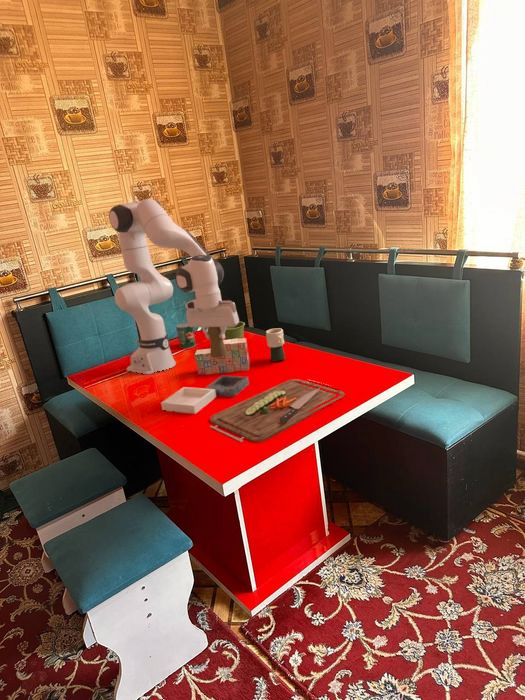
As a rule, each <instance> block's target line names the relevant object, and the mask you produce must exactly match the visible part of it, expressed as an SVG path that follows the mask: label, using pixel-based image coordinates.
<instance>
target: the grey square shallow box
mask: <svg viewBox="0 0 525 700" xmlns="http://www.w3.org/2000/svg"><path fill="white" fill-rule="evenodd" d="M249 385H250V382H249V376H240V375H237V376H236V375H220V376H219V377H218V378H216V379H215V380H213V381H212V382H211V383H210V384H208V385H207V386H206V387H205V389H215V392H216V396H218V397H219V396H221V397H229V398H230V397H231V398H234V397H236V396H237V395H239V393H240V392H241V391H243V390H244V389H245V388H247V386H249Z"/></svg>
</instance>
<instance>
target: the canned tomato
mask: <svg viewBox="0 0 525 700" xmlns="http://www.w3.org/2000/svg"><path fill="white" fill-rule="evenodd" d="M175 328H176V332H177V337H178V338H177V339H178V342H179V343H178V344H179V348H180V349H181V348H184V349H183V350H186V349H185V348H188V349H191V347H192V348H194V347H196V346H195V345H197V344H196V340H195V339H196V338H195V334H194V333H195V332H194V327H190V326H189V325H188V322H183V323H179V324H177V325H176V326H175Z"/></svg>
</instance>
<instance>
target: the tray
mask: <svg viewBox="0 0 525 700" xmlns="http://www.w3.org/2000/svg"><path fill="white" fill-rule="evenodd" d="M215 398H217V395H216V392H215V389H206V388H203V387H202V388H201V387H189V386H188V387H187V386H186V387H185V386H183V387H182V388H180V389H179V390H177V391H176V392H175V393H172V394H171V395H170V396H168V397H167V398H166V399H164V400H163V401H162V402H160V405H161V409H162V411H163V410H166V411H165V412H173V411H174V413H175V412H176V413H183V414H184V413H185V414H193V415H194V414H195V415H196V414H197V413H198V412H200V411H201V410H202V409H203V408H204V407H206V406H207V405H208V404H209V403H211V402H212V401H213V400H214V399H215Z"/></svg>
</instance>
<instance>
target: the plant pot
mask: <svg viewBox="0 0 525 700" xmlns="http://www.w3.org/2000/svg"><path fill="white" fill-rule="evenodd" d="M245 325H246V323H245V322H243V321H239V323H238V325H236V326H234V327H226V331H225V338H224V340H230V339H237V338H238V339H241V338H245V336H244V333H245V332H244V331H245Z"/></svg>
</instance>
